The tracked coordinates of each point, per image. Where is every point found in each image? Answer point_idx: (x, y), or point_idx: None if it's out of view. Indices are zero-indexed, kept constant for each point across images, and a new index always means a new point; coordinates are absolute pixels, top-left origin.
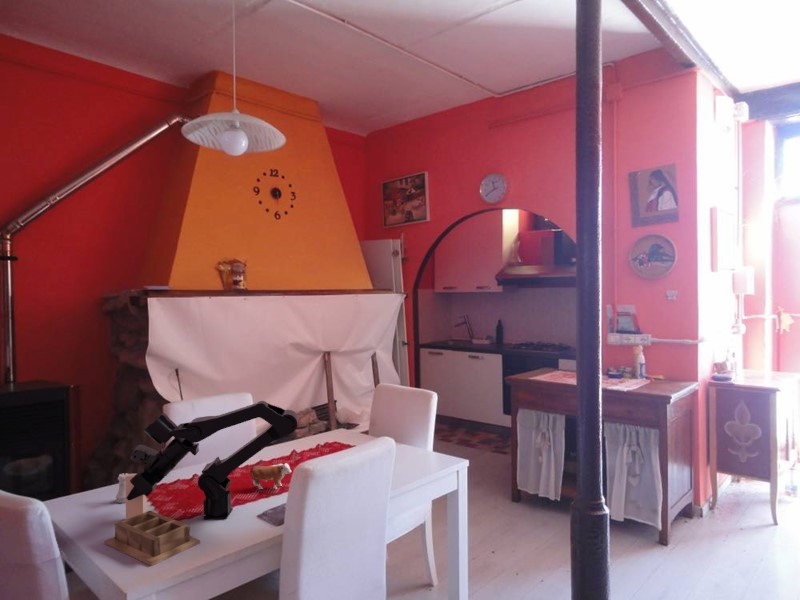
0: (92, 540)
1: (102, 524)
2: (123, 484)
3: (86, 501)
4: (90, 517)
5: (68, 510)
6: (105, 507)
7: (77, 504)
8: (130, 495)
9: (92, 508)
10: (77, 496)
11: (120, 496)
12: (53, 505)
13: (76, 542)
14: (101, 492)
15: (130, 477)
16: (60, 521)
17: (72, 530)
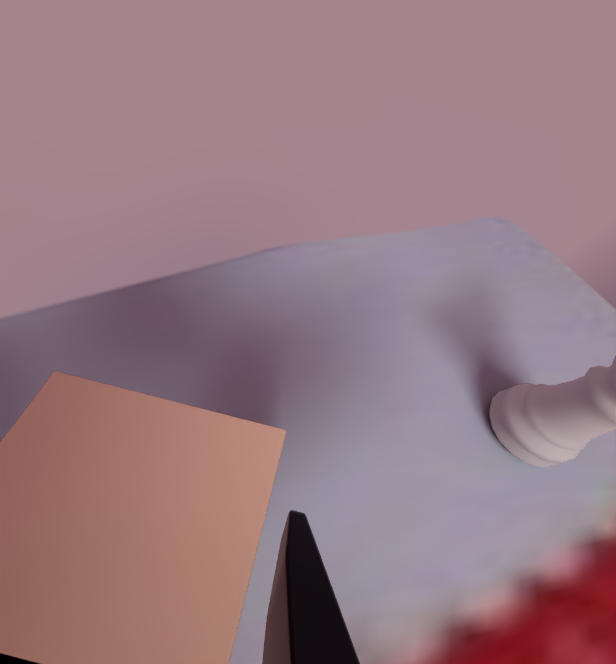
0: (64, 347)
1: (243, 366)
2: (589, 399)
3: (506, 292)
4: (344, 316)
5: (428, 254)
6: (442, 358)
7: (479, 271)
8: None
9: (437, 315)
10: (548, 266)
11: (515, 405)
12: (473, 221)
13: (93, 295)
14: (597, 328)
15: None
16: (337, 242)
17: (234, 275)
